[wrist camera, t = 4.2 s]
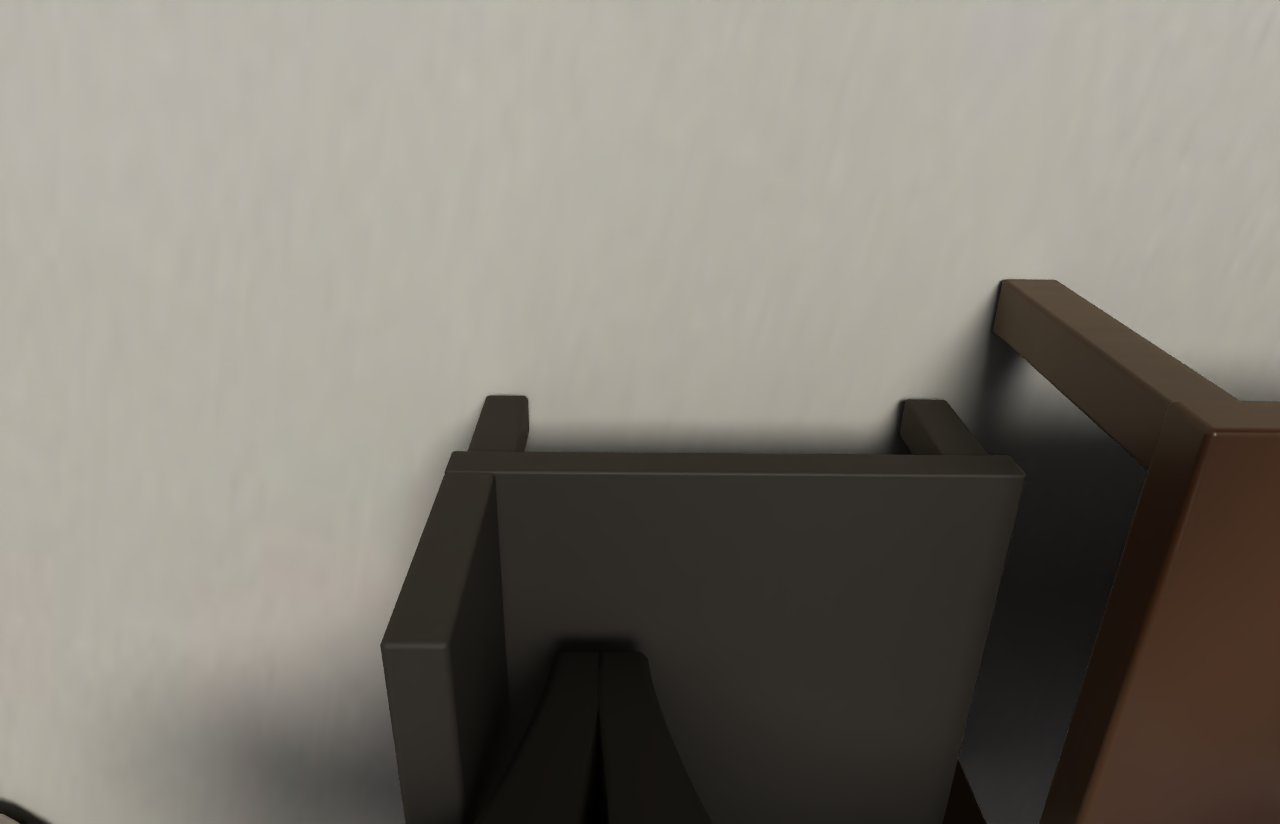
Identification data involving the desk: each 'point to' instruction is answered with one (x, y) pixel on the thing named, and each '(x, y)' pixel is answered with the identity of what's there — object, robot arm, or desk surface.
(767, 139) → the desk surface
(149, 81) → the desk surface
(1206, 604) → the dining table
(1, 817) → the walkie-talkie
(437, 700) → the black chair
